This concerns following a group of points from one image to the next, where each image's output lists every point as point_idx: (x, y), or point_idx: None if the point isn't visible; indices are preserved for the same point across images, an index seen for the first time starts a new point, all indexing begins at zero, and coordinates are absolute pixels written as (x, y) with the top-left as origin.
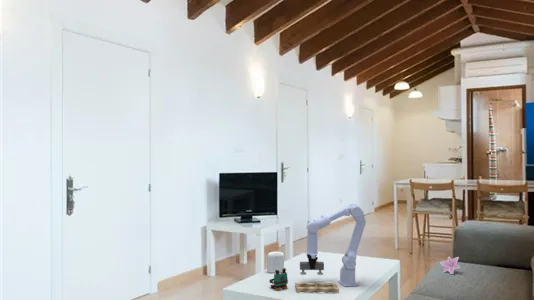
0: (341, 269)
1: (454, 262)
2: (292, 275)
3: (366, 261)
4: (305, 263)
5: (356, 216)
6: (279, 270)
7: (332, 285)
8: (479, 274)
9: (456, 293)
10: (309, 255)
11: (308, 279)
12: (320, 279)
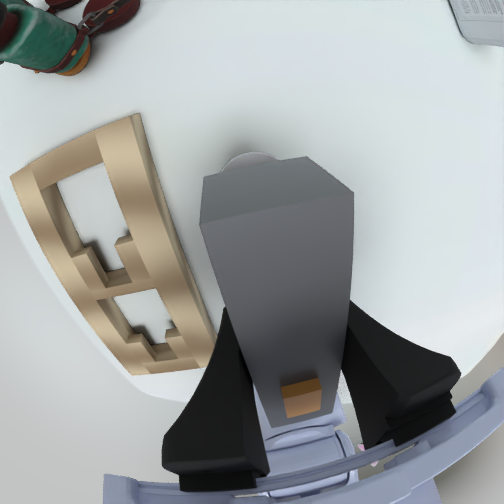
0: None
1: None
2: (427, 80)
3: (486, 339)
4: (228, 312)
5: None
6: (462, 11)
7: (177, 355)
8: (356, 452)
9: None
10: (388, 416)
11: (355, 191)
12: (356, 264)
